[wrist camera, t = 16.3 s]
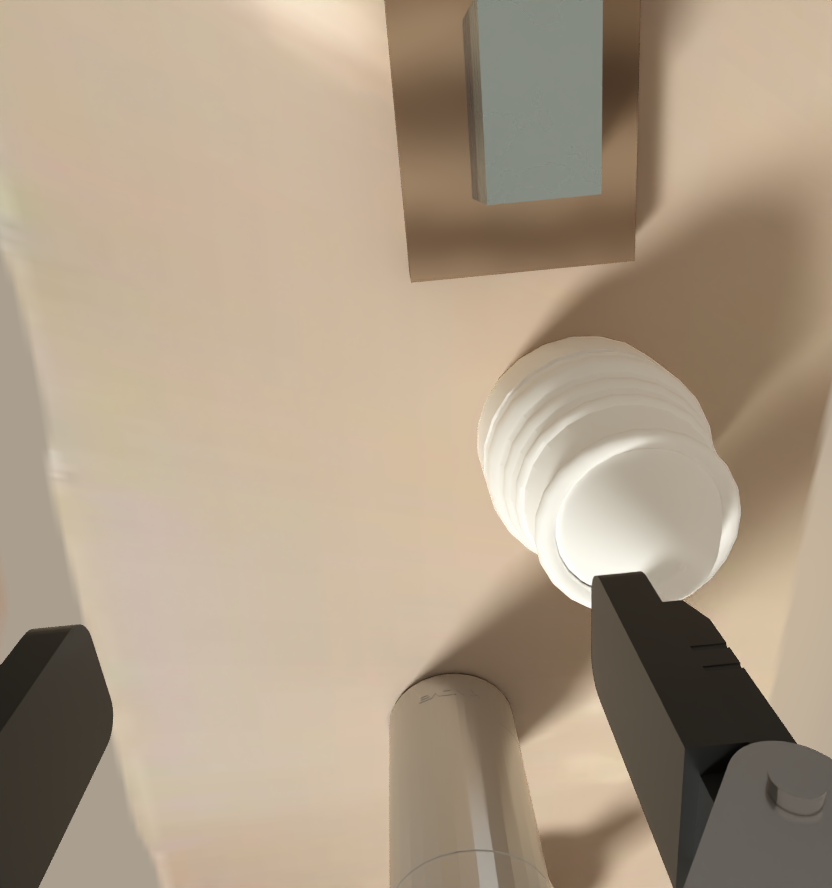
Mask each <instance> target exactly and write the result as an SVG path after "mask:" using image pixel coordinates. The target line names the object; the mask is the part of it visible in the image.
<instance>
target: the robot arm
mask: <svg viewBox="0 0 832 888" xmlns="http://www.w3.org/2000/svg"><path fill="white" fill-rule="evenodd" d="M591 659H592V669H593V676H594V681H595V686H596V690H597V693H598V696H599V699H600V702H601V704H602V707H603V709H604V712H605V714H606V717H607V720H608V722H609V725H610V727H611V730H612V732H613V735H614V737H615V740H616V743H617V745H618V748H619V750H620V753H621V755H622V758H623V760H624V763H625V766H626V768H627V771H628V773H629V776H630V778H631V781H632V783H633V786H634V789H635V791H636V794H637V796H638V799H639V801H640V804H641V806H642V809H643V812H644V814H645V817H646V819H647V822H648V824H649V827H650V829H651V832H652V834H653V837H654V840H655V842H656V845H657V847H658V850H659V852H660V855H661V857H662V860H663V863H664V865H665V868H666V870H667V873H668V875H669V878H670V880H671V883H672V886H673V888H832V759H831V758H829V757H828V756H826V755H823V754H822V753H820V752H818V751H816V750H813V749H811V748H808V747H806V746H802V745H799V744H797V743H796V742H795V740H794V739H793V737H792V736H791V735H790V733H789V732H788V730H787V729H786V727H785V726H784V724H783V723H782V722H781V720H780V719H779V717H778V716H777V715H776V713H775V712H774V710H773V709H772V707H771V706H770V705H769V703H768V702H767V700H766V699H765V697H764V696H763V695H762V693H761V692H760V690H759V689H758V687H757V686H756V685H755V683H754V682H753V680H752V679H751V677H750V676H749V675H748V673H747V672H746V670H745V669H744V668H741V666H740V662H739V660H738V659H737V657H736V656H735V655H734V653H733V652H732V650H731V649H730V647H729V648H727V646H726V642H725V640H724V639H723V637H722V636H721V635H720V633H719V632H718V630H717V629H716V628H715V626H714V625H713V623H712V622H711V620H710V619H709V618H707V617H706V616H704V615H703V614H702V613H700V612H699V611H697V610H696V609H694V608H693V607H691V606H690V605H688V604H687V603H685V602H684V601H683V600H677V601H666V602H662V600H661V599H660V597H659V596H658V594H657V592H656V591H655V589H654V588H653V586H652V584H651V583H650V581H649V580H648V578H647V576H646V575H645V574H644V573H643V572H642V571H638V572H628V573H617V574H607V575H597V576H594V577H593V580H592V587H591ZM112 725H113V707H112V702H111V698H110V695H109V692H108V688H107V685H106V682H105V679H104V676H103V673H102V670H101V666H100V663H99V660H98V657H97V654H96V651H95V647H94V644H93V641H92V638H91V635H90V633H89V631H88V630H87V628H86V627H85V626H83V625H70V626H59V627H48V628H38V629H31V630H29V631H28V632H26V634H25V635H24V636H23V637H22V638H21V640H20V641H19V642H18V644H17V645H16V646H15V647H14V649H13V650H12V651H11V653H10V654H9V655H8V656H7V658H6V659H5V660H4V662H3V663H2V664H1V665H0V888H38V887H39V885H40V883H41V881H42V879H43V877H44V875H45V873H46V871H47V869H48V867H49V865H50V863H51V860H52V858H53V856H54V854H55V852H56V850H57V848H58V846H59V844H60V842H61V840H62V838H63V836H64V833H65V831H66V829H67V827H68V825H69V823H70V821H71V819H72V817H73V815H74V813H75V811H76V809H77V807H78V805H79V802H80V800H81V798H82V796H83V794H84V792H85V790H86V788H87V786H88V784H89V782H90V780H91V778H92V775H93V774H94V772H95V770H96V767H97V765H98V763H99V761H100V759H101V757H102V755H103V753H104V751H105V749H106V747H107V744H108V742H109V739H110V736H111V732H112ZM389 842H390V888H551V886H550V882H549V877H548V873H547V868H546V864H545V859H544V855H543V850H542V846H541V841H540V837H539V832H538V828H537V823H536V819H535V814H534V809H533V805H532V800H531V796H530V791H529V787H528V782H527V778H526V773H525V769H524V764H523V760H522V755H521V750H520V745H519V741H518V736H517V732H516V727H515V723H514V718H513V714H512V711H511V707H510V704H509V702H508V701H507V699H506V698H505V696H504V694H502V693H501V692H500V691H499V690H498V689H497V688H496V687H495V686H493V685H492V684H490V683H488V682H487V681H485V680H482V679H480V678H477V677H474V676H469V675H463V674H445V675H439V676H434V677H431V678H428V679H426V680H423V681H421V682H419V683H417V684H416V685H414V686H412V687H411V688H409V689H408V690H407V691H406V692H405V693H404V694H403V695H402V696H401V697H400V698H399V700H398V701H397V703H396V704H395V706H394V708H393V711H392V713H391V717H390V763H389Z"/></svg>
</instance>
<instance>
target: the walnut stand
mask: <svg viewBox="0 0 832 888" xmlns="http://www.w3.org/2000/svg"><path fill="white" fill-rule="evenodd" d="M384 1H385V12H386V23H387V34H388V45H389V55H390V66H391V77H392V88H393V99H394V109H395V120H396V131H397V142H398V153H399V164H400V174H401V185H402V196H403V207H404V218H405V228H406V239H407V250H408V261H409V272H410V278H411V283H412V282H422V281H432V280H443V279H453V278H463V277H473V276H484V275H494V274H504V273H514V272H525V271H535V270H545V269H555V268H566V267H576V266H586V265H596V264H607V263H617V262H627V261H635V218H636V175H637V132H638V89H639V47H640V4H641V0H603V49H602V186H601V194H598V195H588V196H577V197H567V198H557V199H546V200H536V201H526V202H515V203H505V204H494V205H486V204H483V203H481V202H479V201H477V200H474V199H472V185H471V167H470V149H469V132H468V114H467V97H466V79H465V61H464V44H463V26H462V20H463V18H464V16H465V14H466V12H467V10H468V8H469V6H470V4H471V2H472V0H384Z"/></svg>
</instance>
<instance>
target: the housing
mask: <svg viewBox="0 0 832 888" xmlns="http://www.w3.org/2000/svg"><path fill="white" fill-rule="evenodd" d="M462 26H463V44H464V61H465V79H466V97H467V114H468V132H469V149H470V167H471V185H472V199H474V200H477V201H479V202H481V203H483V204H486V205H494V204H505V203H515V202H526V201H536V200H546V199H557V198H567V197H577V196H588V195H598V194H601V186H602V49H603V0H472V2H471V4H470V6H469V8H468V10H467V12H466V14H465V16H464V18H463V20H462Z"/></svg>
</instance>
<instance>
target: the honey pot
mask: <svg viewBox="0 0 832 888" xmlns="http://www.w3.org/2000/svg"><path fill="white" fill-rule="evenodd" d="M477 451H478V455H479V459H480V462H481V466H482V470H483V473H484V477H485V480H486V483H487V486H488V490H489V493H490V496H491V499H492V502H493V506H494V509H495V510H496V512H497V513H498V515H499V517H500V518H501V520H502V521H503V523H504V524H505V526H506V528H507V529H508V530H509V532H510V533H511V534H512V535H513V536H514V537H516V538H517V539H518V540H519V541H520V542H521V543H522V544H524V545H525V546H526V547H527V548H528V549H529V550H530V551H532V552H535V553H537V554H538V557H539V561H540V564H541V565H542V567H543V569H544V570H545V572H546V573H547V575H548V577H549V578H550V580H551V581H552V583H553V584H554V585H555V586H556V587H557V588H559V589H560V590H561V591H562V592H563V593H564V594H565V595H567V596H568V597H569V598H570V599H571V600H574V601H576V602H578V603H580V604H582V605H584V606H586V607H588V608H590V609H591V587H592V580H593V577H594V576H597V575H607V574H617V573H628V572H638V571H642V572H643V573H644V574H645V575H646V576H647V578H648V580H649V581H650V583H651V584H652V586H653V588H654V589H655V591H656V592H657V594H658V596H659V597H660V599H661V600H662V602H666V601H677V600H682V599H684V598H686V597H688V596H690V595H691V594H693V593H694V592H695V591H697V590H698V589H699V588H700V587H702V586H703V585H704V584H705V583H707V582H708V581H709V580H710V579H711V578H712V577H713V576H714V574H715V573H716V572H717V571H718V570H719V568H720V567H721V566H722V565H723V563H724V562H725V561H726V560H727V557H728V555H729V553H730V551H731V549H732V547H733V545H734V542H735V540H736V538H737V536H738V530H739V524H740V518H741V504H740V496H739V489H738V486H737V484H736V482H735V480H734V478H733V476H732V474H731V472H730V470H729V467H728V465H727V464H726V463H725V462H724V461H723V460H722V459H721V458H720V457H719V456H718V454H717V452H716V450H715V448H714V446H713V441H712V435H711V428H710V425H709V423H708V421H707V419H706V417H705V414H704V412H703V410H702V408H701V406H700V404H699V402H698V400H697V398H696V397H695V396H694V395H693V394H692V393H691V392H690V391H689V389H688V388H687V387H686V386H685V385H684V384H683V383H682V382H681V381H680V380H679V379H678V378H677V377H675V376H674V375H673V374H672V373H670V372H669V371H668V370H667V369H665V368H664V367H663V366H661V365H660V364H658V363H657V362H656V361H654V360H653V359H652V358H650V357H649V356H648V355H646V354H644V353H643V352H641V351H639V350H637V349H636V348H634V347H632V346H630V345H629V344H627V343H625V342H621V341H617V340H613V339H609V338H605V337H601V336H580V337H569V338H565V339H562V340H558V341H555V342H551V343H548V344H544V345H542V346H541V347H539V348H537V349H535V350H534V351H532V352H530V353H528V354H527V355H525V356H523V357H522V358H520V359H519V360H518V361H517V362H515V363H514V364H513V365H512V366H511V367H510V368H509V369H508V370H507V371H506V372H505V373H504V374H503V375H502V376H501V377H500V378H499V379H498V381H497V383H496V384H495V386H494V388H493V389H492V391H491V393H490V394H489V396H488V397H487V399H486V401H485V403H484V407H483V410H482V413H481V417H480V420H479V424H478V441H477ZM580 580H581V581H583V582H585V583H587V584H589V585H591V586H589V585H587V584H585V583H583V582H581V581H580Z"/></svg>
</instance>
